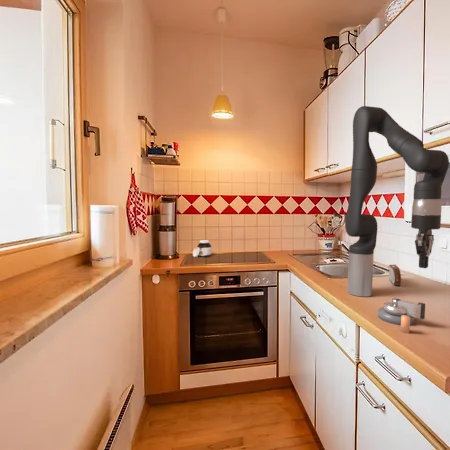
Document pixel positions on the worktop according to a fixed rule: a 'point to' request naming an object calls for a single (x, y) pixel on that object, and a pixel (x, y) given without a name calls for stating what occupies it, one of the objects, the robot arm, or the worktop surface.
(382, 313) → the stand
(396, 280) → the tin
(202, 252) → the spread jar
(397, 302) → the dial
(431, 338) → the worktop surface
